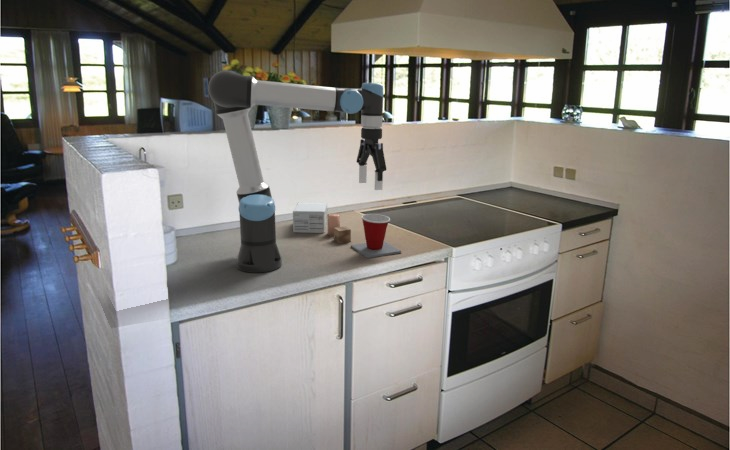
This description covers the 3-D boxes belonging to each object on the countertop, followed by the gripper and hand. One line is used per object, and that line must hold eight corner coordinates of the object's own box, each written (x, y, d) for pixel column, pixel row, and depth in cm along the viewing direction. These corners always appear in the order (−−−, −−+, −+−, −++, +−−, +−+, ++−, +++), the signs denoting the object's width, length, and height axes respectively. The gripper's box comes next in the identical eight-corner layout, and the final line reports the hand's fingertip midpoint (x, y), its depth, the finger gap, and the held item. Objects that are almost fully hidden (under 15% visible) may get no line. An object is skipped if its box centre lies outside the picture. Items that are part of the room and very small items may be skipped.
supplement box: (324, 233, 226) (324, 211, 224) (292, 233, 226) (292, 211, 224) (327, 222, 243) (327, 202, 240) (297, 222, 243) (297, 201, 240)
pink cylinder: (330, 236, 222) (330, 217, 220) (325, 233, 226) (325, 214, 224) (341, 234, 224) (341, 215, 222) (336, 231, 228) (336, 213, 226)
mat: (367, 258, 196) (367, 255, 196) (350, 247, 208) (350, 245, 208) (401, 253, 202) (401, 250, 202) (383, 242, 214) (383, 240, 214)
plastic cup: (387, 253, 199) (387, 221, 196) (358, 251, 201) (358, 219, 198) (391, 244, 209) (392, 214, 206) (364, 242, 211) (364, 212, 208)
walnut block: (339, 243, 213) (338, 231, 212) (334, 239, 218) (334, 227, 216) (350, 241, 215) (350, 229, 214) (345, 238, 220) (345, 226, 218)
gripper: (397, 130, 186) (395, 192, 192) (366, 124, 208) (365, 179, 214) (377, 131, 183) (375, 193, 189) (348, 124, 205) (347, 180, 210)
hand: (370, 186), depth 201 cm, fingers open, 13 cm apart
